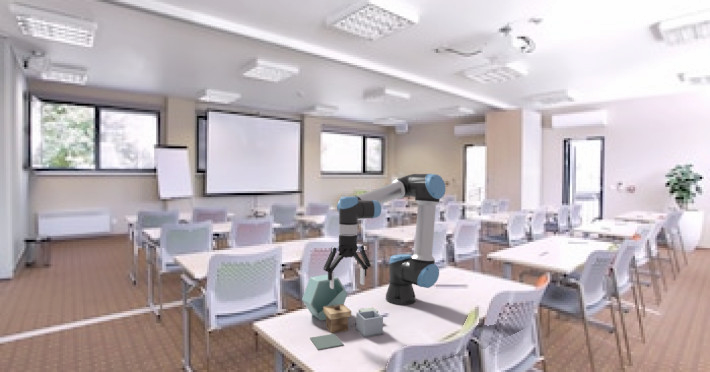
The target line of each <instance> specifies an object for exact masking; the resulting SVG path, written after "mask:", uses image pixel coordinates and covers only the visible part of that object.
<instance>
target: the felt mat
mask: <svg viewBox="0 0 710 372" xmlns="http://www.w3.org/2000/svg"><path fill="white" fill-rule="evenodd" d="M309 340H310V341H311V342H312V344H313V345H314V347H315V348H316V349H317V350H318V351H320V350H325V349H332V348H336V347H337V348H338V347H341V346H342V347H343V346H344V343H343V342H342V341H341V340H340V338H339V337H338V336H337V335H336V334H335V333H329V334H324V335H318V336H317V335H316V336H313V337H309Z"/></svg>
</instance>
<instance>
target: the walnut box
mask: <svg viewBox="0 0 710 372" xmlns="http://www.w3.org/2000/svg"><path fill="white" fill-rule="evenodd" d="M325 328H327V330H328V331H329V333H330V334H335V333H336V334H337V333H341V332H346V331H349V317H345V318H338V319H332V320H330V319H329V318H328V317H327V316H326V319H325Z"/></svg>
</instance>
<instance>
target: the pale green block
mask: <svg viewBox="0 0 710 372" xmlns="http://www.w3.org/2000/svg"><path fill="white" fill-rule="evenodd" d="M371 310H374V311H376V312H377V313H378V314H379V310H377V309H376V308H375V307H373V306H372V307H365V308H359V309H358V312H365V311H371Z"/></svg>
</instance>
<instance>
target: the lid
mask: <svg viewBox="0 0 710 372" xmlns="http://www.w3.org/2000/svg"><path fill="white" fill-rule="evenodd" d="M323 312H324V313H325V314H326V316H327V317H328V318H329V319H330V320H332V319H338V318H345V317H348V318H350V317H352V310H350V308H348V306H346V305H345V303H344V304H339V305H332V306H324V307H323Z"/></svg>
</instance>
